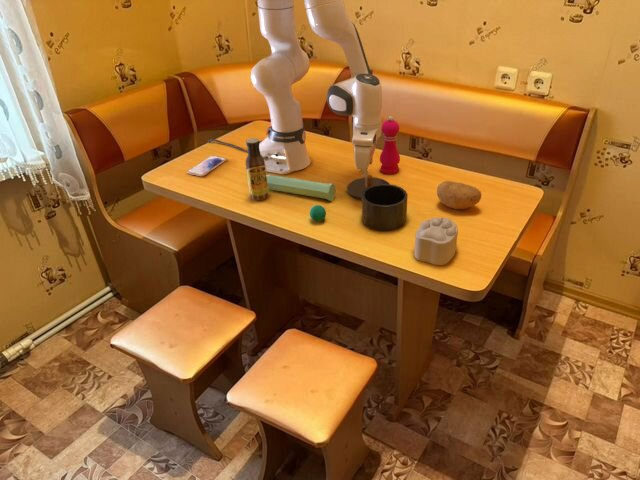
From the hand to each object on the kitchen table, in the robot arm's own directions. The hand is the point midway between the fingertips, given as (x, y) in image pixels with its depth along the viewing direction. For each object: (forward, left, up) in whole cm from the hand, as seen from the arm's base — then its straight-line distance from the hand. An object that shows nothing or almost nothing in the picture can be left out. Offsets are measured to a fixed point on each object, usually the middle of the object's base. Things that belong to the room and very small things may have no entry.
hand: (367, 169), depth 163 cm
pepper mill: (+5, +16, -8) cm, 19 cm away
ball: (-12, -21, -8) cm, 25 cm away
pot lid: (+1, 0, -7) cm, 7 cm away
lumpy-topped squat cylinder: (+25, -31, -8) cm, 41 cm away
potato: (+30, -6, -8) cm, 32 cm away
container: (-23, -6, -8) cm, 24 cm away
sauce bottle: (-35, -10, -8) cm, 37 cm away
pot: (+8, -17, -8) cm, 20 cm away
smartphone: (-62, +8, -8) cm, 63 cm away
